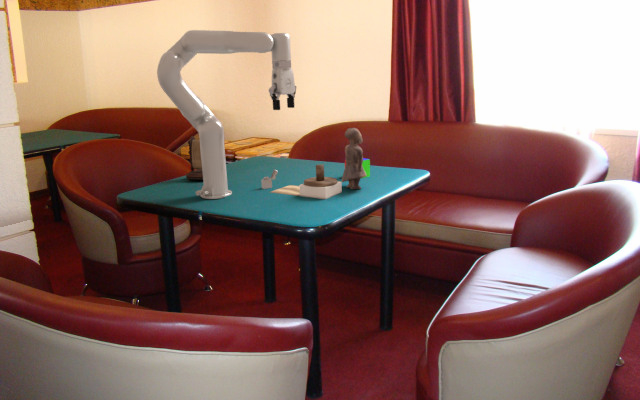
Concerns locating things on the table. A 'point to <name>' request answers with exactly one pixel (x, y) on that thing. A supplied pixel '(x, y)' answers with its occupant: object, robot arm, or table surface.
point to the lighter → (268, 180)
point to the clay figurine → (353, 159)
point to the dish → (320, 191)
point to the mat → (288, 190)
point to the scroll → (195, 159)
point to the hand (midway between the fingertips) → (283, 108)
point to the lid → (320, 179)
